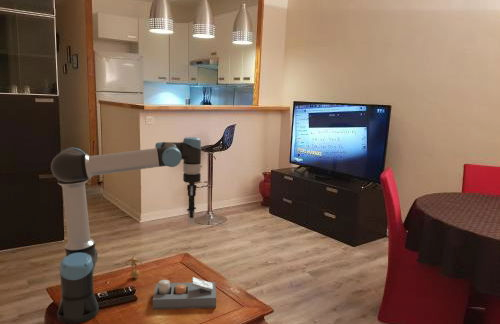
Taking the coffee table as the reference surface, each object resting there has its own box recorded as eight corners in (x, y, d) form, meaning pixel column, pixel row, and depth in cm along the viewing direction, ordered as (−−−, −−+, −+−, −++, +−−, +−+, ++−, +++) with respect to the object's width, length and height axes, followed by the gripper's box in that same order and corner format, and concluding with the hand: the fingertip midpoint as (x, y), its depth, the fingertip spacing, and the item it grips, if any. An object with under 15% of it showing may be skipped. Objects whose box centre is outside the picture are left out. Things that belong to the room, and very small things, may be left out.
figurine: (144, 276, 192) (144, 252, 190) (141, 282, 187) (141, 258, 184) (127, 275, 192) (126, 252, 190) (124, 281, 186) (123, 257, 184)
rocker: (191, 287, 168) (192, 283, 168) (191, 280, 174) (193, 277, 174) (211, 293, 170) (212, 289, 170) (211, 286, 176) (212, 282, 175)
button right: (174, 299, 169) (175, 289, 168) (175, 293, 173) (175, 284, 173) (185, 299, 170) (186, 289, 169) (186, 293, 174) (186, 284, 173)
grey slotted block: (152, 309, 164) (152, 296, 163) (156, 292, 177) (156, 280, 176) (216, 307, 167) (216, 295, 166) (214, 291, 181) (215, 279, 180)
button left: (158, 294, 168) (158, 285, 167) (159, 289, 172) (159, 279, 171) (169, 294, 168) (169, 284, 167) (170, 289, 173) (170, 279, 172)
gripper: (200, 175, 169) (199, 228, 173) (200, 169, 181) (199, 219, 186) (182, 175, 168) (182, 228, 172) (183, 169, 180) (183, 219, 185)
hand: (191, 223), depth 179 cm, fingers closed
